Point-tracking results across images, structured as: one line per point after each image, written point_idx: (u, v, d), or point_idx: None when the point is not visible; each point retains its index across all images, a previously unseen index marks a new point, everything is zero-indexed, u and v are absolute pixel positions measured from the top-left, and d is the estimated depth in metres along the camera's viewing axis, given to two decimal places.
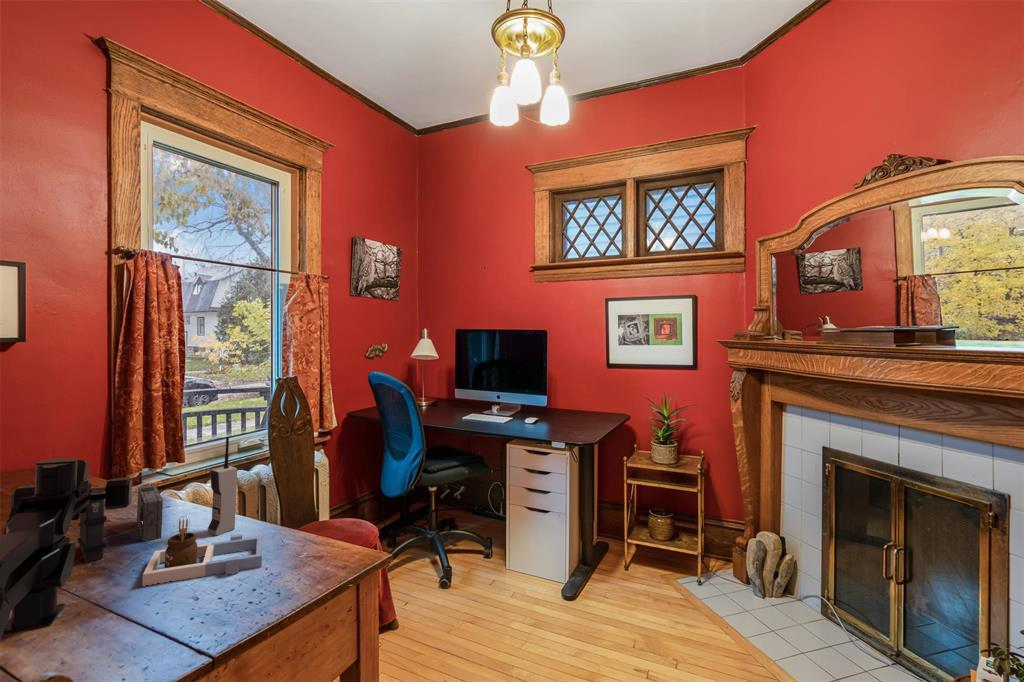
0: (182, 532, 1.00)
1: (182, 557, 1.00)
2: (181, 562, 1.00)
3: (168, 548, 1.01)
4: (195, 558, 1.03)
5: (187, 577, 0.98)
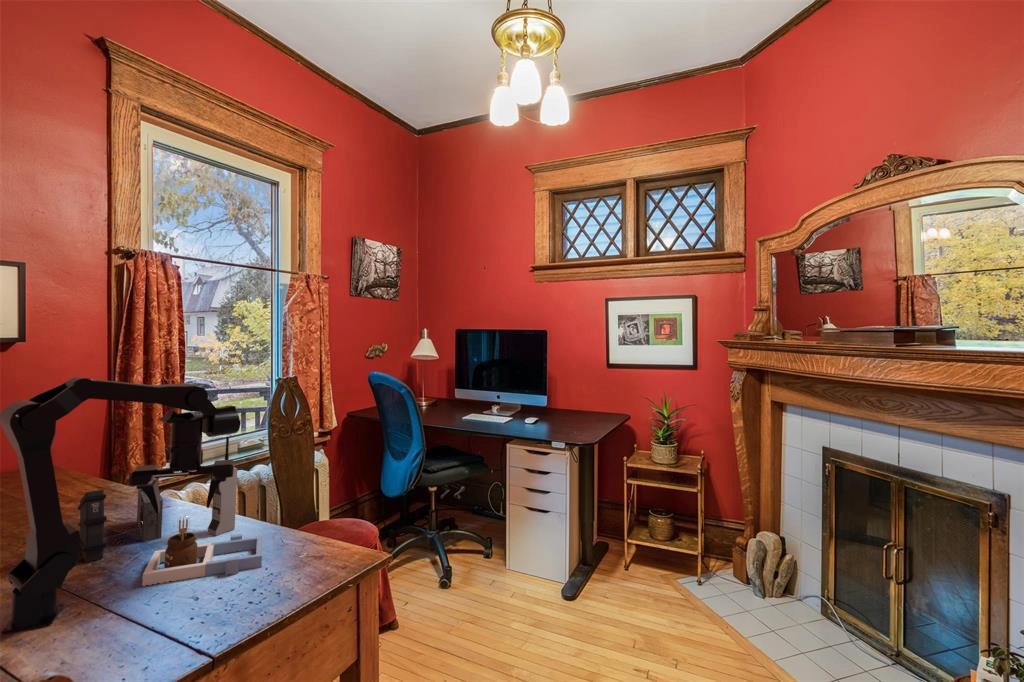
0: (182, 532, 1.01)
1: (182, 557, 1.00)
2: (181, 562, 1.00)
3: (168, 548, 1.01)
4: (195, 558, 1.03)
5: (187, 577, 0.98)
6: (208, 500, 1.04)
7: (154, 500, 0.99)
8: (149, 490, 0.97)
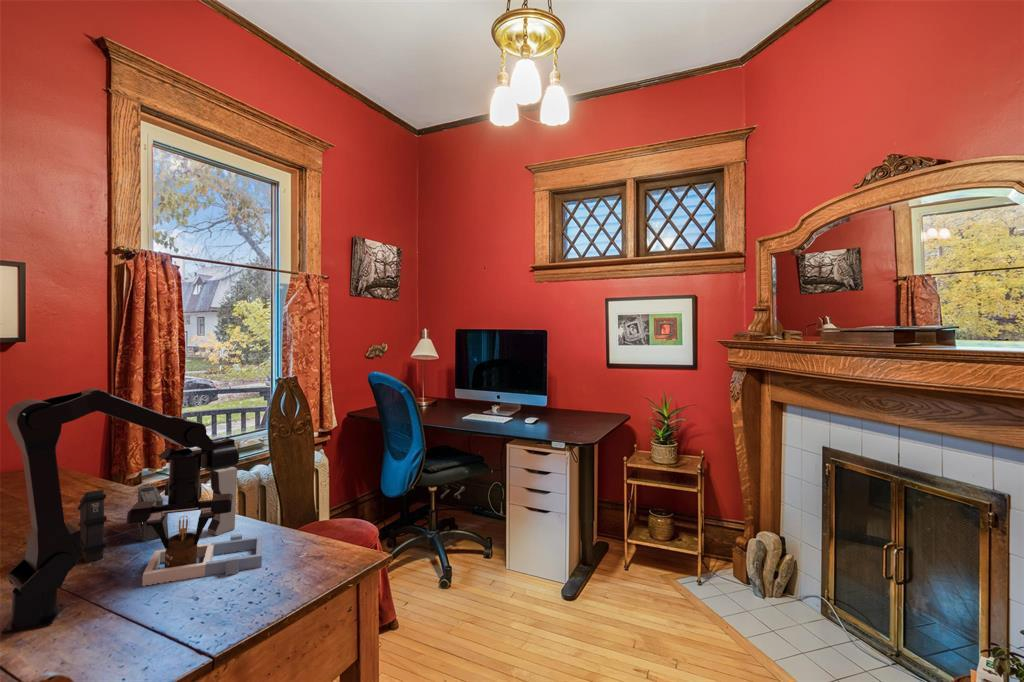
0: (182, 532, 1.00)
1: (182, 557, 1.00)
2: (181, 562, 1.00)
3: (168, 548, 1.01)
4: (195, 558, 1.03)
5: (187, 577, 0.98)
6: (196, 537, 1.03)
7: (163, 536, 1.00)
8: (158, 526, 0.98)
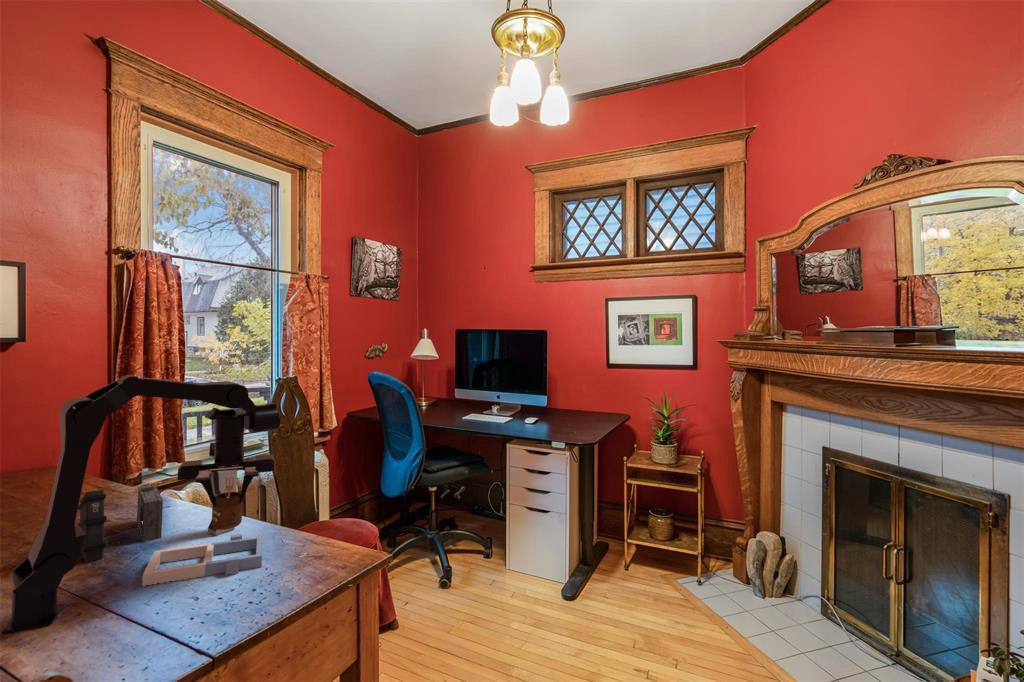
0: (229, 489, 1.05)
1: (229, 513, 1.04)
2: (228, 518, 1.04)
3: (215, 505, 1.05)
4: (240, 515, 1.07)
5: (187, 577, 0.98)
6: (241, 494, 1.07)
7: (211, 493, 1.04)
8: (207, 483, 1.02)
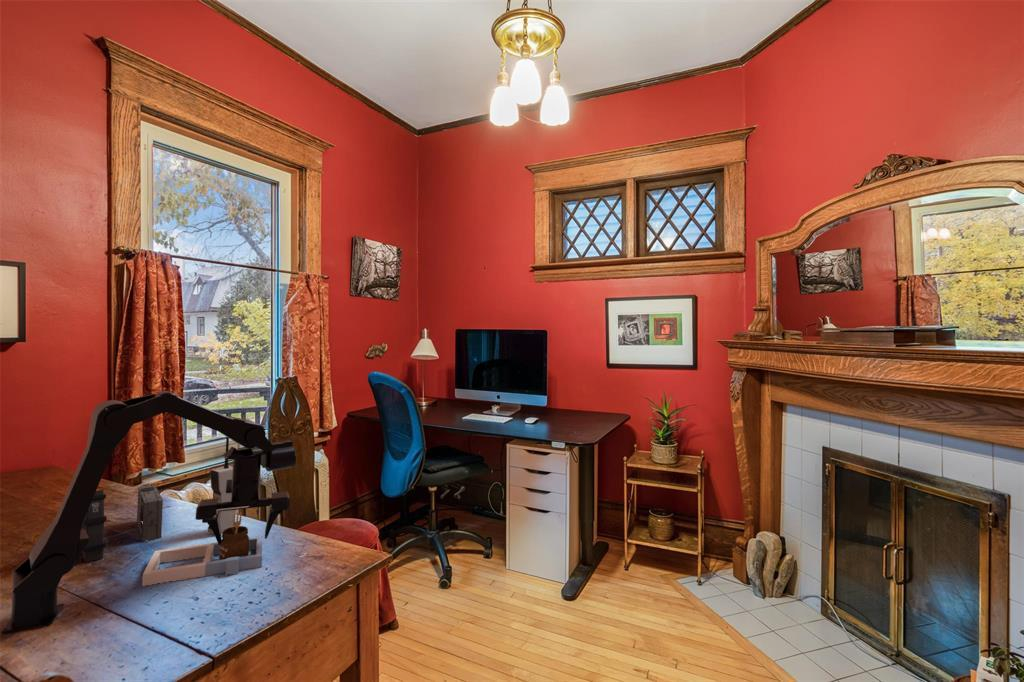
0: (236, 525, 1.05)
1: (236, 549, 1.05)
2: (235, 554, 1.05)
3: (223, 540, 1.05)
4: (247, 550, 1.08)
5: (187, 577, 0.98)
6: (266, 531, 1.09)
7: (217, 533, 1.04)
8: (213, 523, 1.03)
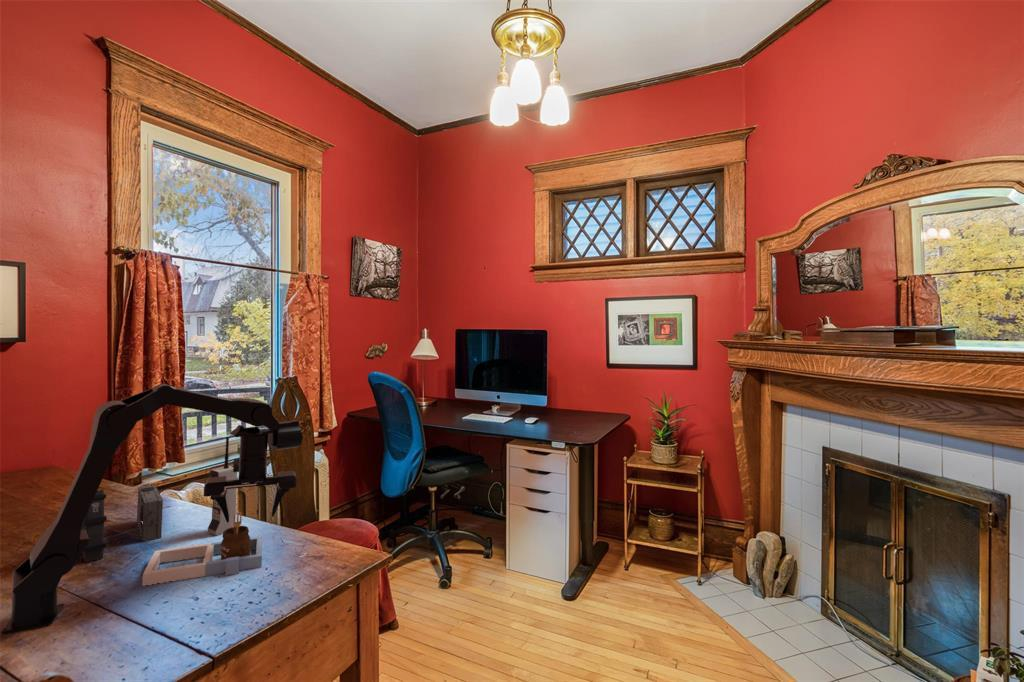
0: (237, 525, 1.05)
1: (238, 549, 1.05)
2: (237, 553, 1.05)
3: (224, 541, 1.05)
4: (249, 549, 1.08)
5: (187, 577, 0.98)
6: (273, 509, 1.10)
7: (226, 510, 1.05)
8: (222, 500, 1.04)
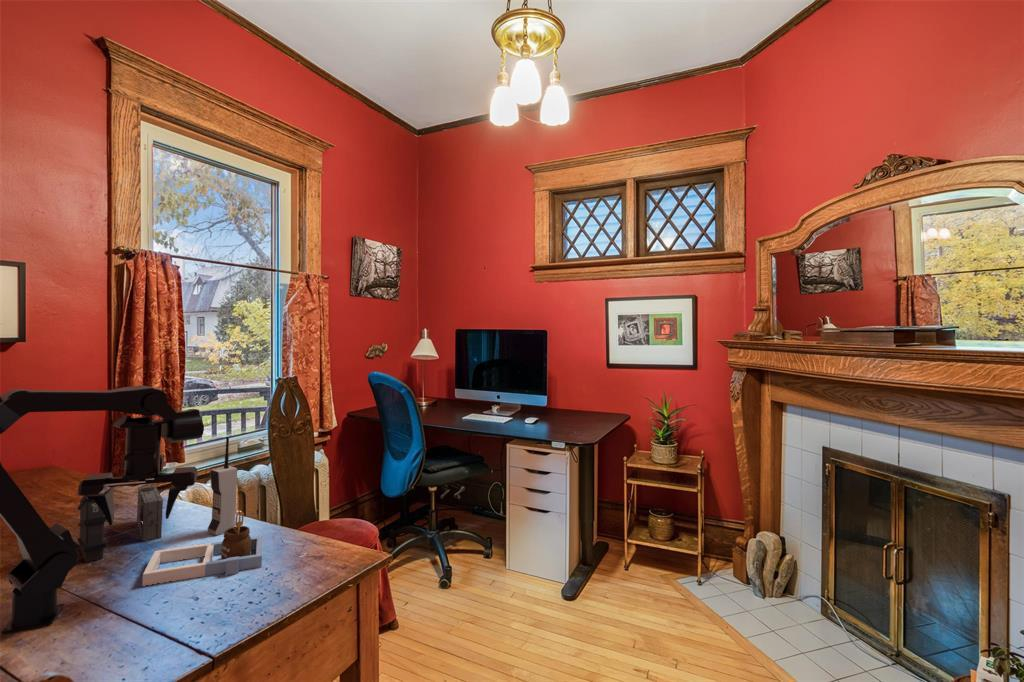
0: (238, 525, 1.05)
1: (238, 549, 1.05)
2: (238, 554, 1.05)
3: (225, 541, 1.05)
4: (249, 550, 1.08)
5: (187, 577, 0.98)
6: (167, 510, 0.97)
7: (107, 511, 0.92)
8: (101, 500, 0.91)
